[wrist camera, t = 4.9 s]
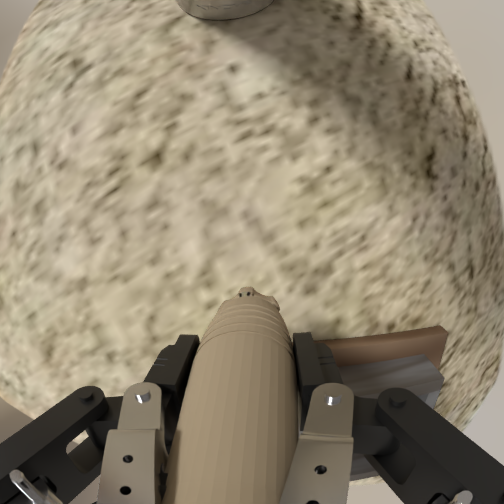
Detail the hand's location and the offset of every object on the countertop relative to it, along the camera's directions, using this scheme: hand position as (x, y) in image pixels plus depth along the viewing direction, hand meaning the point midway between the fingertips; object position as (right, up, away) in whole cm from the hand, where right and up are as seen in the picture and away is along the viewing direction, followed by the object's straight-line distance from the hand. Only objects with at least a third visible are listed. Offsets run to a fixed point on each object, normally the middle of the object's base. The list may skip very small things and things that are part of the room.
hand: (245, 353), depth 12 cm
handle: (0, +1, +4) cm, 4 cm away
